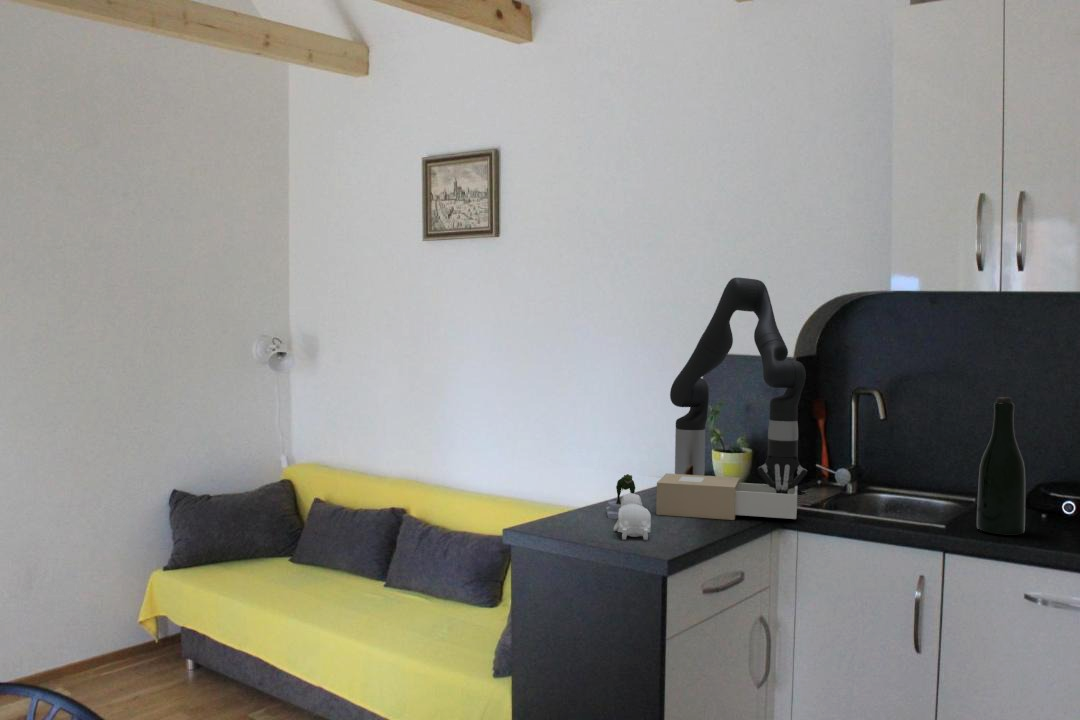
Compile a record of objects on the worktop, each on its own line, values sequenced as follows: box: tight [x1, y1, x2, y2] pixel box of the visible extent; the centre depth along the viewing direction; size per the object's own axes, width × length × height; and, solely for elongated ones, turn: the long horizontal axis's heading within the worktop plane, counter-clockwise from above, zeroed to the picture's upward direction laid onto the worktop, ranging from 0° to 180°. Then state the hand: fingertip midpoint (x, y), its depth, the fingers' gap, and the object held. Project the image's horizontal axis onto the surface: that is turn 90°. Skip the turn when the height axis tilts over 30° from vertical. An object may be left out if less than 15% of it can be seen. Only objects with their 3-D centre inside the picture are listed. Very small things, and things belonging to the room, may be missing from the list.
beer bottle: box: [976, 396, 1026, 535], centre depth 223 cm, size 10×10×33 cm
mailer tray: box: [735, 482, 798, 520], centre depth 239 cm, size 14×19×6 cm
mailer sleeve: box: [655, 472, 741, 521], centre depth 244 cm, size 16×20×8 cm
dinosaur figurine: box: [605, 474, 644, 520], centre depth 239 cm, size 9×20×12 cm, turn 179°
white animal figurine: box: [613, 492, 652, 541], centre depth 217 cm, size 9×8×15 cm
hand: (781, 504), depth 238 cm, fingers closed
